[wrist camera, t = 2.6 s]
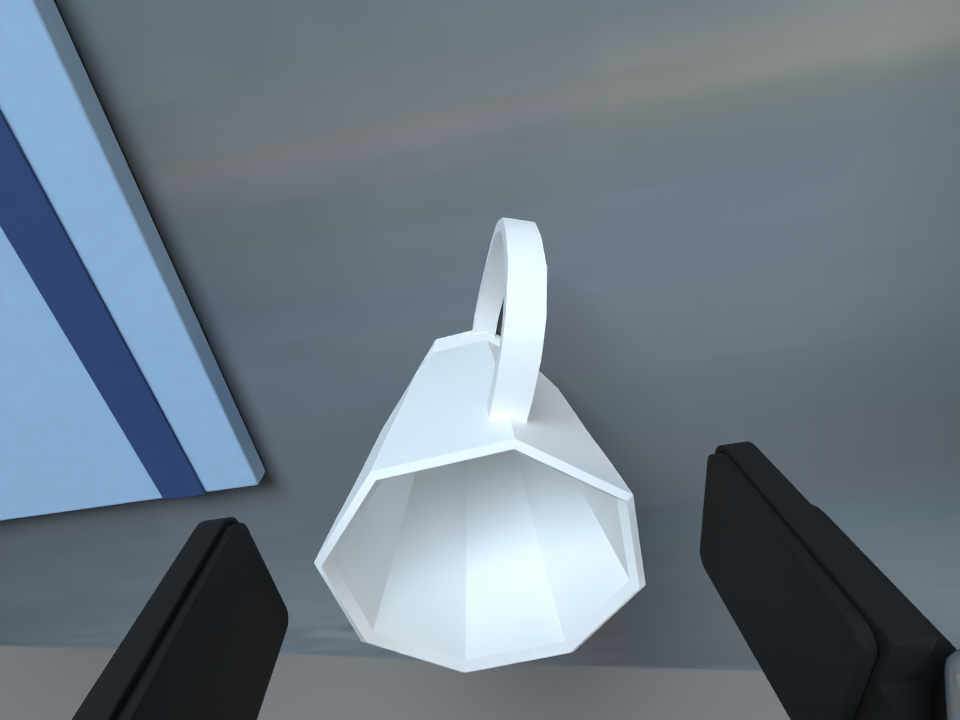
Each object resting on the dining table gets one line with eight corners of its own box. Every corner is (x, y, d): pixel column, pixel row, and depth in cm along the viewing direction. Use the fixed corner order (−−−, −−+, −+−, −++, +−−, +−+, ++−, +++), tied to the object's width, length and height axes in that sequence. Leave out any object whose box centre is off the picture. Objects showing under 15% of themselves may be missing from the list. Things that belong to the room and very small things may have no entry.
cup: (371, 452, 18) (314, 670, 11) (386, 178, 14) (306, 246, 7) (549, 468, 19) (604, 682, 12) (618, 212, 15) (772, 307, 7)
